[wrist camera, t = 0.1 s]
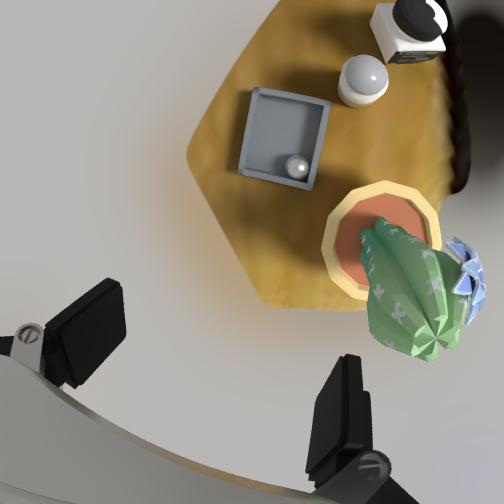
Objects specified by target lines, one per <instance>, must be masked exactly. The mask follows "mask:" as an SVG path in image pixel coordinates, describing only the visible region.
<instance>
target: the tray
mask: <svg viewBox="0 0 504 504" xmlns="http://www.w3.org/2000/svg"><path fill="white" fill-rule="evenodd" d="M330 107H331V101H327V100H323V99H319V98H315V97H310V96H305V95H300V94H295V93H290V92H285V91H279V90H273V89H266V88H260V87H254V88H253V93H252V98H251V103H250V108H249V113H248V118H247V123H246V128H245V134H244V139H243V144H242V150H241V155H240V161H239V166H238V172H237V174H241V175H246V176H250V177H255V178H259V179H264V180H268V181H272V182H277V183H281V184H285V185H289V186H293V187H297V188H301V189H305V190H309V191H312V188H313V184H314V180H315V176H316V171H317V167H318V163H319V158H320V154H321V150H322V145H323V140H324V136H325V131H326V127H327V122H328V117H329V112H330ZM294 155H300V156H303V157H305V158H306V159H307V160H308V162H309V165H310V170H309V173H308V175H307V176H306V177H304V178H303V179H293V178H291V177H290V176H289V175H288V174H287V173H286V170H285V164H286V161H287V160H288V159H289V158H290V157H292V156H294Z"/></svg>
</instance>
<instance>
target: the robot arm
mask: <svg viewBox="0 0 504 504" xmlns="http://www.w3.org/2000/svg"><path fill="white" fill-rule="evenodd" d="M45 327H46V328H45V329H44V330H43V329H42V327H41V326H40V325H38V324H36V323H28V324H25V325H22V326H21V327H19V329H18V330H17V331H16V333H15V336H4V337H0V504H419V503H418V502H417V501H416V500H415V499H414V498H413V497H412V496H410V495H409V494H408V493H407V492H406V491H405V490H404V489H403V488H402V487H401V486H400V485H399V484H398V483H396V482H395V481H394V480H393V479H392V478H391V477H390V474H391V470H392V468H391V463H390V460H389V458H388V457H387V456H386V455H385V454H383V453H381V452H380V451H377V450H373V438H372V415H371V399H370V393H369V392H368V391H363V379H362V367H361V358H360V357H359V356H355V355H351V354H346V355H345V356H344V357H343V356H340V357H339V359H338V361H337V363H336V365H335V366H334V368H333V370H332V372H331V374H330V376H329V377H328V379H327V381H326V383H325V385H324V386H323V388H322V390H321V392H320V393H319V395H318V396H317V399H316V402H315V407H314V416H313V423H312V431H311V438H310V445H309V452H308V458H307V465H306V470H305V472H306V473H307V474H309V478H308V480H309V481H315V486H314V487H315V488H316V490H315V491H313V492H312V493H307V492H303V491H298V490H294V489H289V488H285V487H281V486H276V485H272V484H267V483H263V482H259V481H255V480H251V479H248V478H244V477H241V476H237V475H234V474H230V473H227V472H224V471H221V470H218V469H215V468H211V467H209V466H206V465H203V464H200V463H197V462H195V461H192V460H189V459H187V458H184V457H182V456H179V455H177V454H175V453H172V452H170V451H168V450H165V449H163V448H161V447H158V446H156V445H154V444H152V443H150V442H148V441H146V440H144V439H141V438H140V437H138V436H136V435H134V434H132V433H130V432H128V431H126V430H124V429H122V428H121V427H119V426H117V425H115V424H114V423H112V422H110V421H108V420H107V419H105V418H103V417H101V416H100V415H98V414H97V413H95V412H93V411H92V410H90V409H88V408H87V407H85V406H84V405H82V404H81V403H79V402H78V401H76V400H75V399H73V398H72V397H71V396H69V395H68V394H66V393H65V392H64V391H63V384H64V383H65V382H66V383H67V384H68V385H70V386H71V387H72V388H74V389H76V388H77V387H78V386H79V385H82V384H84V382H85V381H86V380H87V379H88V378H89V377H90V376H91V375H92V374H93V373H94V371H95V370H96V369H97V368H98V367H99V366H100V365H101V364H102V363H103V362H104V360H105V359H106V358H107V357H108V356H109V355H110V354H111V353H112V352H113V351H114V350H115V349H116V348H117V346H118V345H119V344H120V343H121V342H122V341H123V340H124V339H125V337H126V324H125V313H124V302H123V289H122V287H121V286H120V283H119V282H118V281H115V280H113V279H110V278H106V279H104V280H103V281H102V282H100V283H99V284H98V285H96V286H95V287H93V288H92V289H91V290H89V291H88V292H87V293H85V294H84V295H83V296H81V297H80V298H79V299H77V300H76V301H75V302H73V303H72V304H71V305H70V306H68V307H67V308H65V309H64V310H63V311H62V312H60V313H59V314H58V315H56V316H55V317H54V318H53V319H51V320H50V321H49V322H48V323H47V324H45Z"/></svg>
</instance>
